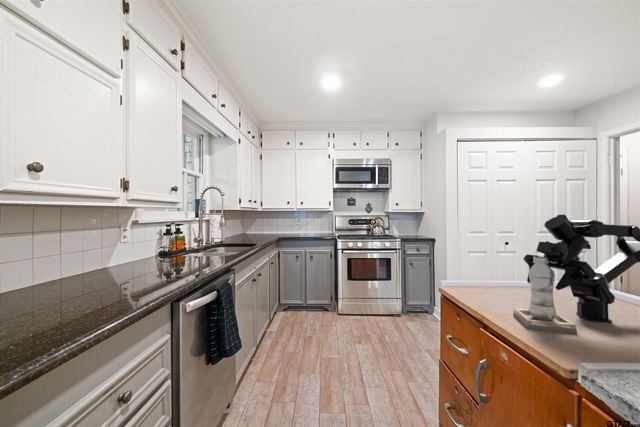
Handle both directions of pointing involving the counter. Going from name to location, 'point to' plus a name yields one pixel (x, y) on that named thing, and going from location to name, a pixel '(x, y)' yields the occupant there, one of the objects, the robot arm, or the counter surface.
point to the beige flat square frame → (544, 322)
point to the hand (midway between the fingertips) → (541, 285)
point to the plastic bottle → (542, 290)
